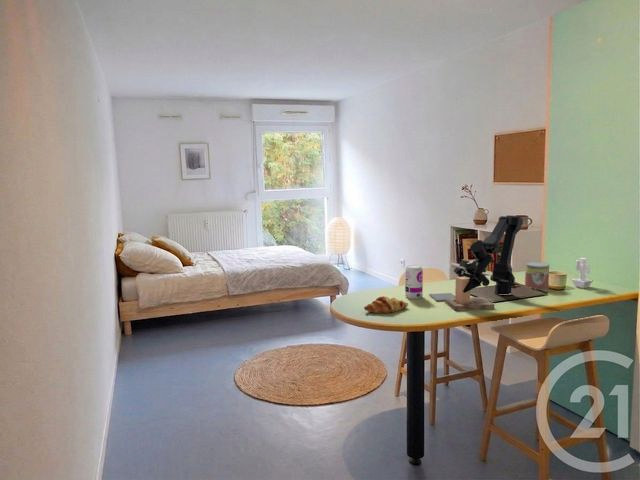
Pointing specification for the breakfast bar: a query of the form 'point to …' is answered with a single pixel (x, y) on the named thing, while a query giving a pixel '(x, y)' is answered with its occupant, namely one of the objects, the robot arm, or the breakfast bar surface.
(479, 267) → the robot arm
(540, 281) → the canned food
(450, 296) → the slate pad
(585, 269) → the figurine
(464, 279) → the terracotta block
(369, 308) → the croissant
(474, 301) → the puzzle board
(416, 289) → the supplement can
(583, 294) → the breakfast bar surface
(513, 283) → the sunglasses case
